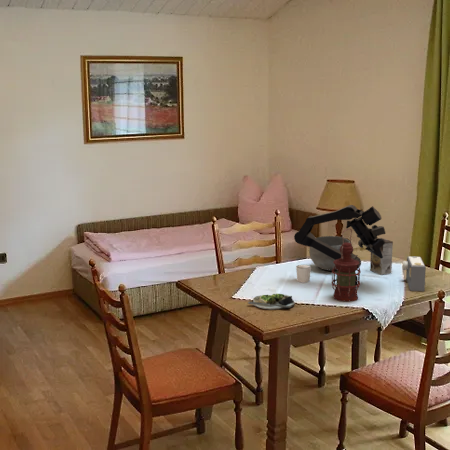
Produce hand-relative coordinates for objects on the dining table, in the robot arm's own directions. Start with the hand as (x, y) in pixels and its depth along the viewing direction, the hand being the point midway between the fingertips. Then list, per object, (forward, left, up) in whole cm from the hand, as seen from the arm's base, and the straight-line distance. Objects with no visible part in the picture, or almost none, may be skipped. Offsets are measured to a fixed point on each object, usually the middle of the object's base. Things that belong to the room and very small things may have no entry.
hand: (381, 257), depth 282 cm
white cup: (-34, +9, -14) cm, 38 cm away
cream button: (+13, +9, -8) cm, 18 cm away
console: (+16, +3, -13) cm, 21 cm away
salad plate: (-47, -25, -14) cm, 56 cm away
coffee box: (+4, +25, -14) cm, 28 cm away
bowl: (-20, +30, -14) cm, 38 cm away
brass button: (+13, -3, -8) cm, 16 cm away
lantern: (-17, -16, -14) cm, 27 cm away
